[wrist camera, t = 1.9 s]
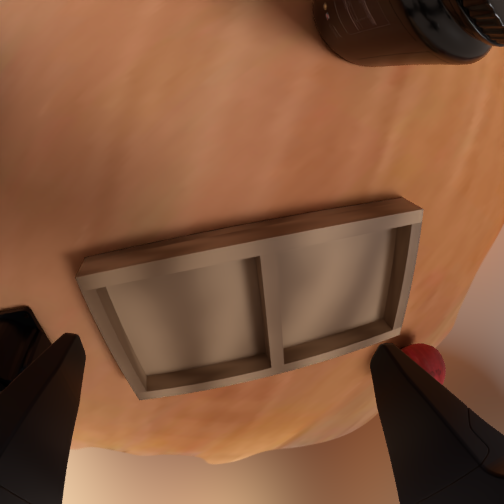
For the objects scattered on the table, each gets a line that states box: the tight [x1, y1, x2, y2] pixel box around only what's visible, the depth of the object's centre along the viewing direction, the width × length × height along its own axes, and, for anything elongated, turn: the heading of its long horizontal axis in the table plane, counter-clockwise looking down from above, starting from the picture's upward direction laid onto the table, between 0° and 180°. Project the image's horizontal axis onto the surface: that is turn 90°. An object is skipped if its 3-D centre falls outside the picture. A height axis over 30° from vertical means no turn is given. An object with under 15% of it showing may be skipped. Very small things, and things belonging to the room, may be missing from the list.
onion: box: [401, 344, 445, 384], centre depth 27 cm, size 6×6×8 cm
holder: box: [75, 198, 423, 400], centre depth 22 cm, size 23×12×2 cm, turn 96°
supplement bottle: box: [313, 0, 504, 67], centre depth 10 cm, size 7×7×12 cm
